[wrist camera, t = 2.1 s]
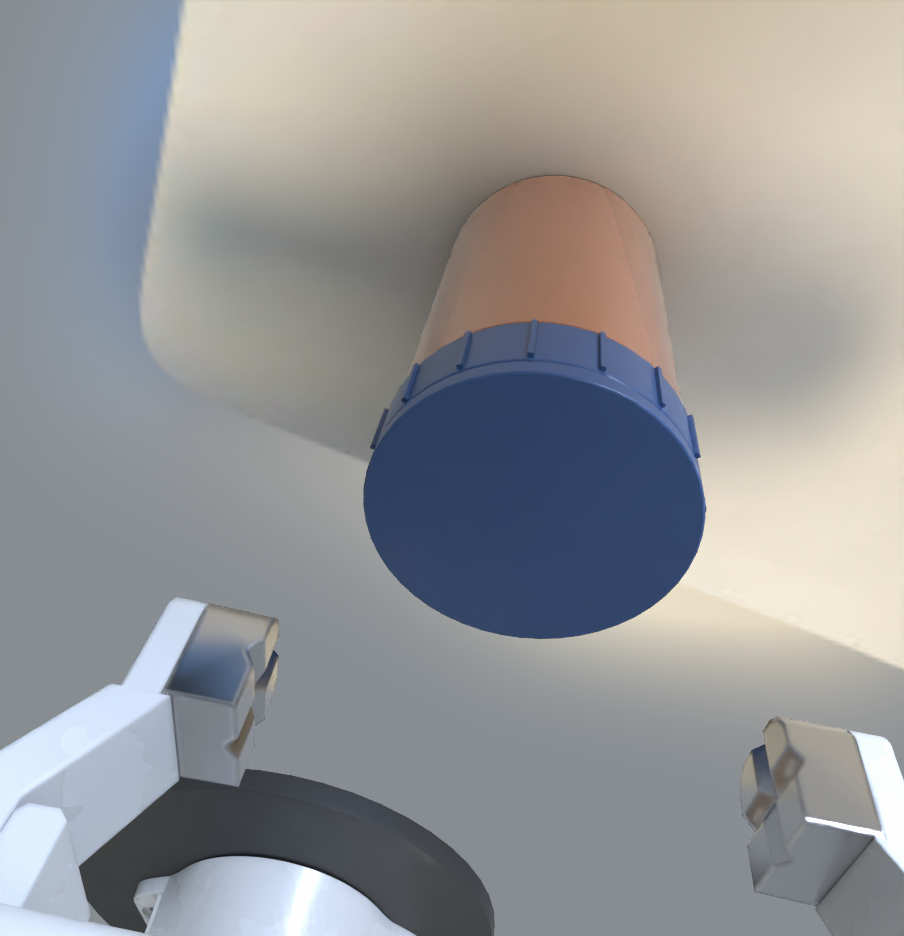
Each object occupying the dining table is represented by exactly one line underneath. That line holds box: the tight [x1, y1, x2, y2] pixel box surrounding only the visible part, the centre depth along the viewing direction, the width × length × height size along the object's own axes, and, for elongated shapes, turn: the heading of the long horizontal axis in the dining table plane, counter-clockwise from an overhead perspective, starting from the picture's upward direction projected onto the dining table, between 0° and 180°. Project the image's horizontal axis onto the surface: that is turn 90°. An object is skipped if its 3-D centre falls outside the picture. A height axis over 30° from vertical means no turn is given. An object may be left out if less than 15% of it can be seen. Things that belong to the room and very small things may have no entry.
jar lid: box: [363, 319, 706, 639], centre depth 16 cm, size 6×6×2 cm
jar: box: [406, 176, 681, 401], centre depth 20 cm, size 6×6×11 cm
